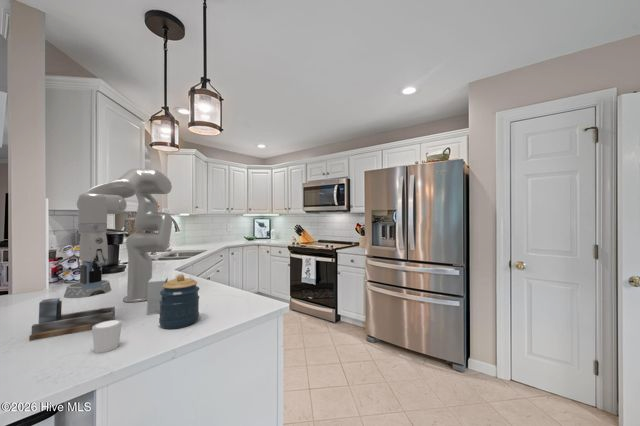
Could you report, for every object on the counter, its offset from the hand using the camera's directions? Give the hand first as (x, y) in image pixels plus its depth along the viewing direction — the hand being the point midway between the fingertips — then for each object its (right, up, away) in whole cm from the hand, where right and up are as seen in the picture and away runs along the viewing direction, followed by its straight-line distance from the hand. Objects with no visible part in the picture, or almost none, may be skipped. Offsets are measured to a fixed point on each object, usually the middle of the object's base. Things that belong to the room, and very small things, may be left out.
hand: (92, 280), depth 88 cm
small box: (+12, -17, +17) cm, 27 cm away
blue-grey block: (0, -2, 0) cm, 2 cm away
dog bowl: (-40, -18, +43) cm, 61 cm away
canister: (+28, -17, +6) cm, 33 cm away
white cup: (+17, -16, -13) cm, 27 cm away
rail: (-6, -16, +1) cm, 18 cm away
